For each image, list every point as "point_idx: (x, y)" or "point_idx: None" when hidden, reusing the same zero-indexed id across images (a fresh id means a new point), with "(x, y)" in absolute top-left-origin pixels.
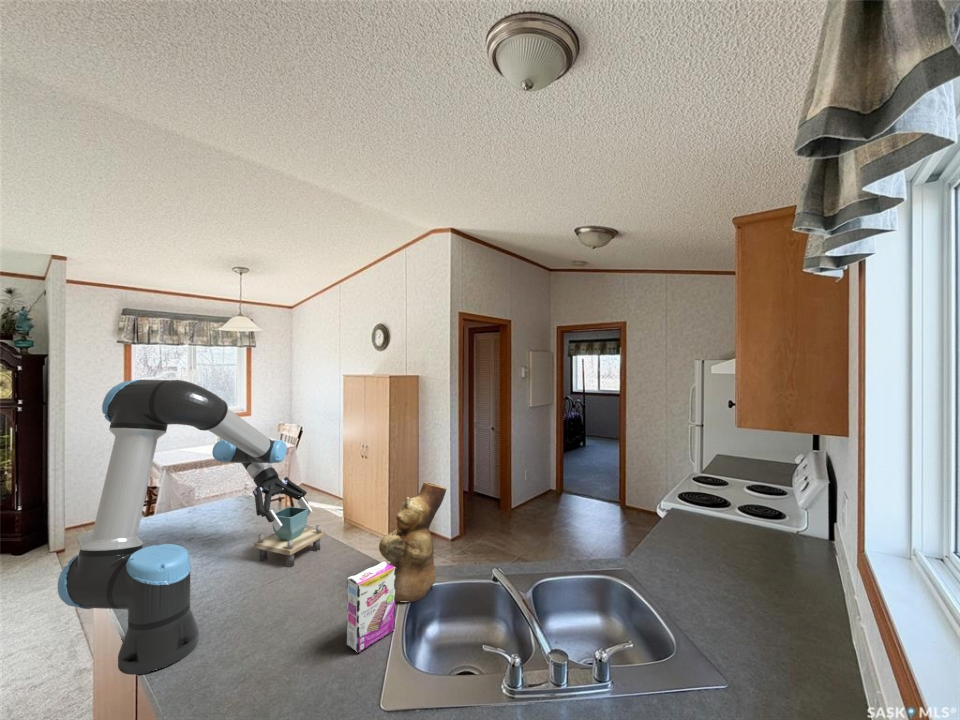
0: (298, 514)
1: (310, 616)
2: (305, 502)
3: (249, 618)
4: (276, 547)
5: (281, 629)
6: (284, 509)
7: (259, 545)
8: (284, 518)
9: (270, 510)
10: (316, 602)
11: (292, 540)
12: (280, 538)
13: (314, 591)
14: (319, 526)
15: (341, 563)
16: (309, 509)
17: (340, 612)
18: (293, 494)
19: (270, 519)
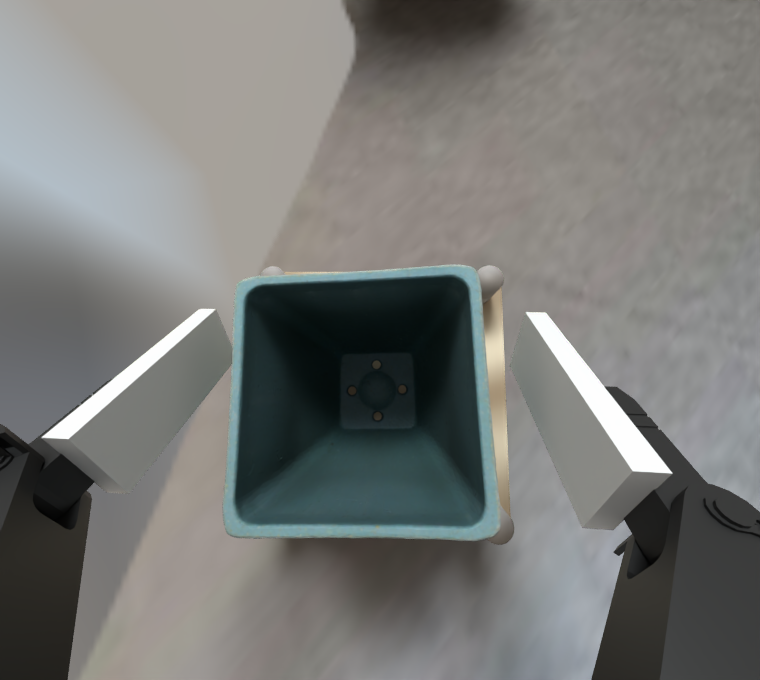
0: (374, 270)
1: (652, 56)
2: (135, 372)
3: (754, 189)
4: (500, 364)
5: (735, 77)
6: (300, 524)
7: (506, 486)
8: (480, 341)
9: (669, 471)
10: (594, 87)
11: (481, 268)
12: (422, 416)
13: (552, 130)
14: (278, 268)
15: (379, 171)
16: (202, 322)
17: (599, 8)
18: (18, 596)
19: (629, 404)
